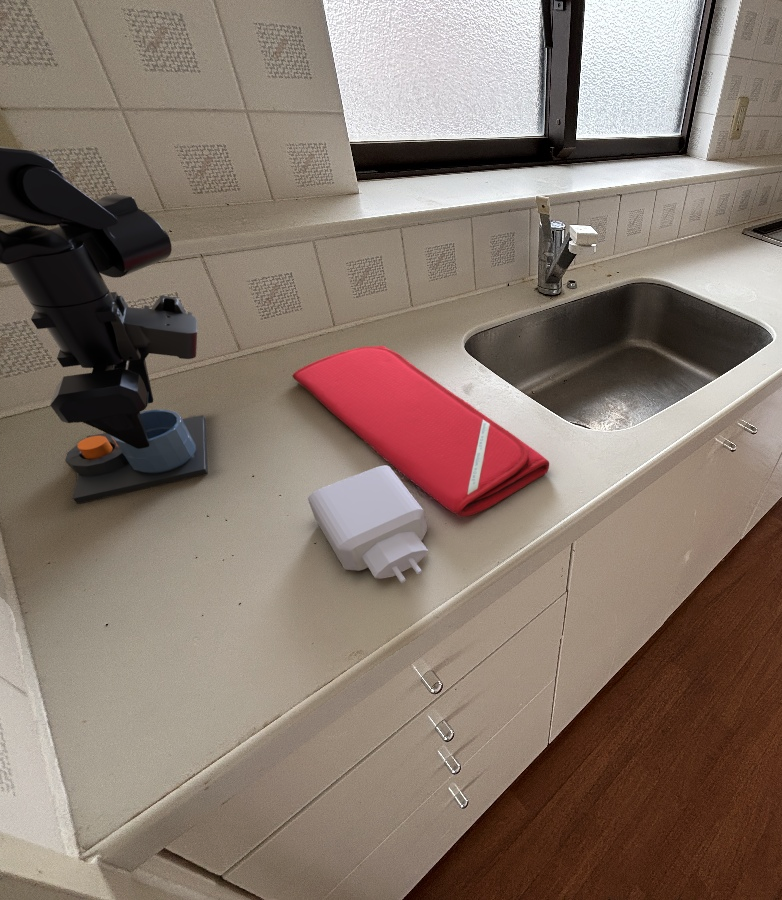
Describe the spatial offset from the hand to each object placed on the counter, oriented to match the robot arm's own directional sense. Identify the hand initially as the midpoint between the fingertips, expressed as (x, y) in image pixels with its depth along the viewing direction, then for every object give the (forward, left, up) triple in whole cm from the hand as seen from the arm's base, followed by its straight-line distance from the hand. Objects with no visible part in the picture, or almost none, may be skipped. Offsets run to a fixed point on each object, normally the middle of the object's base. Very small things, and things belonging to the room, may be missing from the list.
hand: (146, 423), depth 58 cm
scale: (-2, +2, -6) cm, 7 cm away
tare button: (-6, +2, -4) cm, 7 cm away
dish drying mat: (+29, -4, -6) cm, 30 cm away
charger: (+20, -24, -6) cm, 32 cm away
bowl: (0, 0, -5) cm, 5 cm away
